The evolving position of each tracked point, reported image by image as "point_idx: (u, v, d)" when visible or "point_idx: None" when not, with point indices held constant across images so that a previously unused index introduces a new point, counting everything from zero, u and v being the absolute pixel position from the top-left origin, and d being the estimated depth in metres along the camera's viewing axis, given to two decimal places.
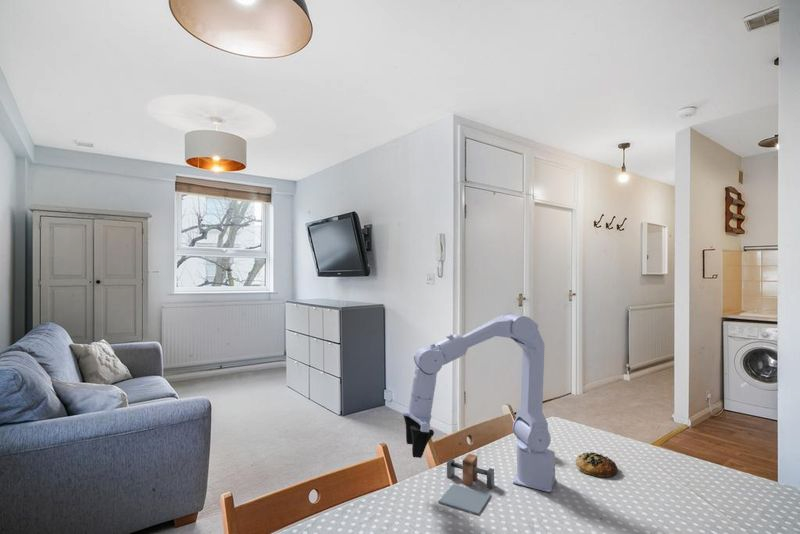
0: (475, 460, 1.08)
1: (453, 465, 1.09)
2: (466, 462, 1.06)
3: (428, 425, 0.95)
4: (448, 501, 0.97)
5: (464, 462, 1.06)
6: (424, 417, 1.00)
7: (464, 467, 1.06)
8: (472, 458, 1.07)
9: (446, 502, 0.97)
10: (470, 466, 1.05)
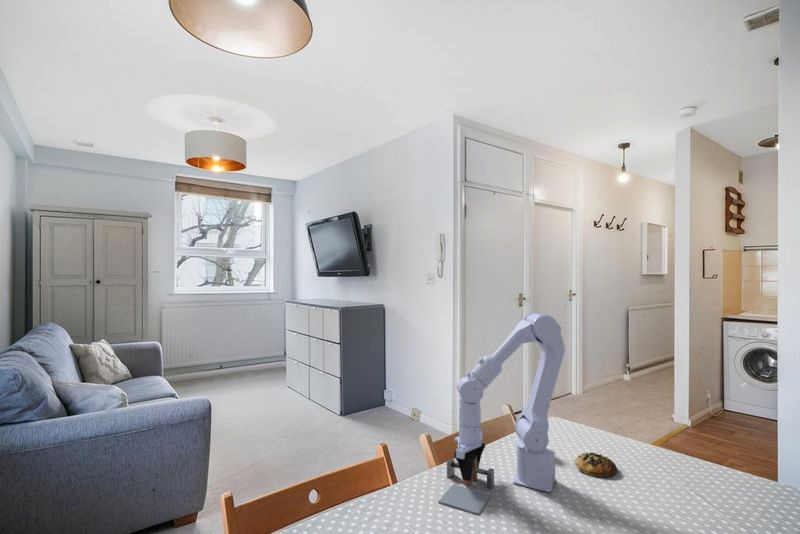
0: (475, 460, 1.08)
1: (453, 465, 1.09)
2: None
3: (461, 452, 1.01)
4: (448, 501, 0.97)
5: None
6: (468, 444, 1.05)
7: None
8: None
9: (446, 502, 0.97)
10: None
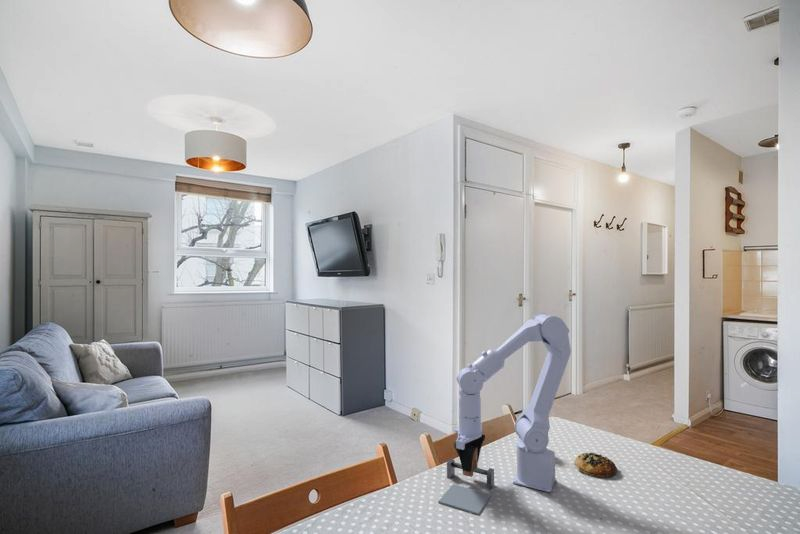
0: (475, 451, 1.08)
1: (453, 465, 1.09)
2: None
3: (461, 443, 1.01)
4: (448, 501, 0.97)
5: None
6: (468, 435, 1.05)
7: None
8: None
9: (446, 502, 0.97)
10: None
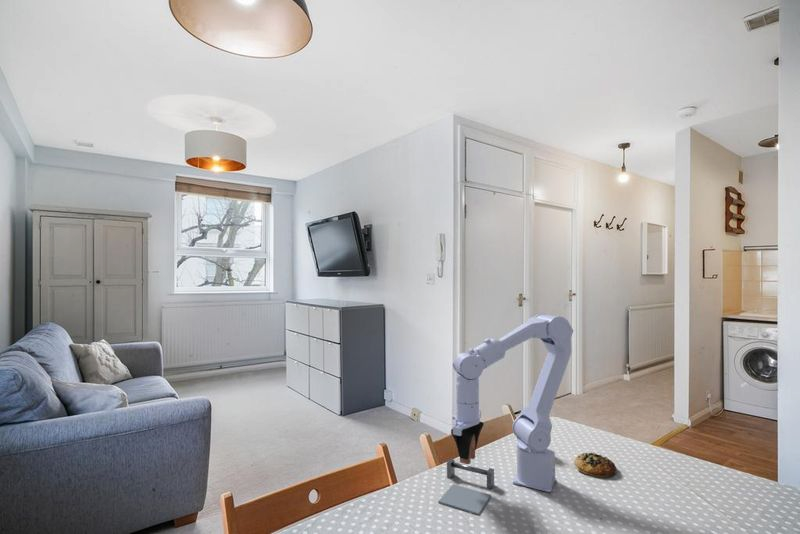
0: (473, 438, 1.04)
1: (453, 465, 1.09)
2: None
3: (458, 429, 0.98)
4: (448, 501, 0.97)
5: None
6: (465, 422, 1.02)
7: None
8: None
9: (446, 502, 0.97)
10: None
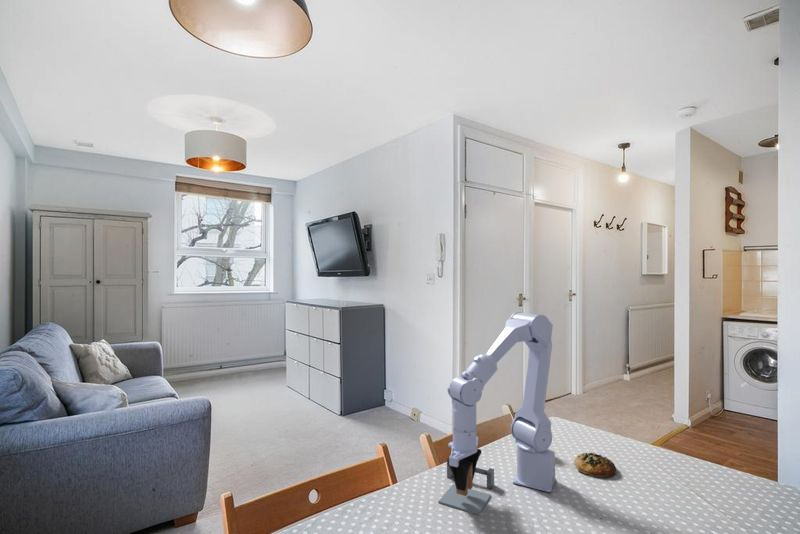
0: (470, 467, 0.99)
1: None
2: None
3: (455, 459, 0.92)
4: (448, 501, 0.97)
5: None
6: (462, 451, 0.96)
7: None
8: None
9: (446, 502, 0.97)
10: None
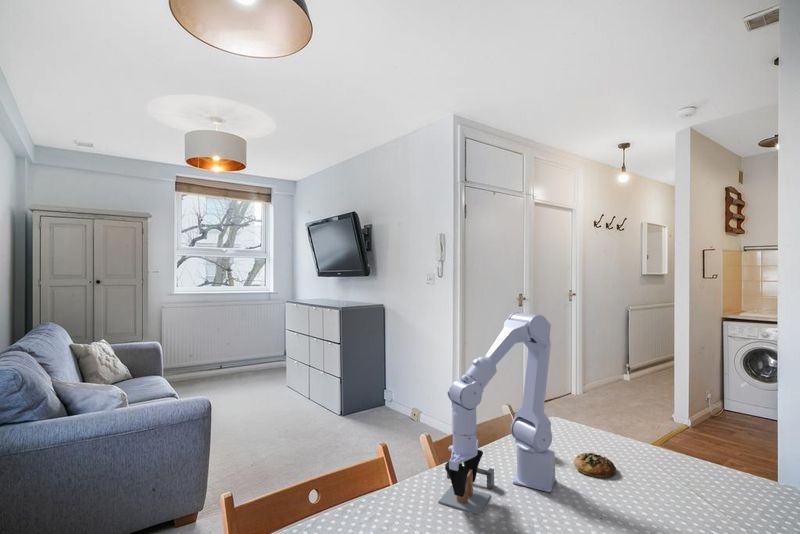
0: (470, 475, 0.99)
1: None
2: None
3: (455, 463, 0.92)
4: (448, 501, 0.97)
5: None
6: (462, 454, 0.96)
7: None
8: None
9: (446, 502, 0.97)
10: None
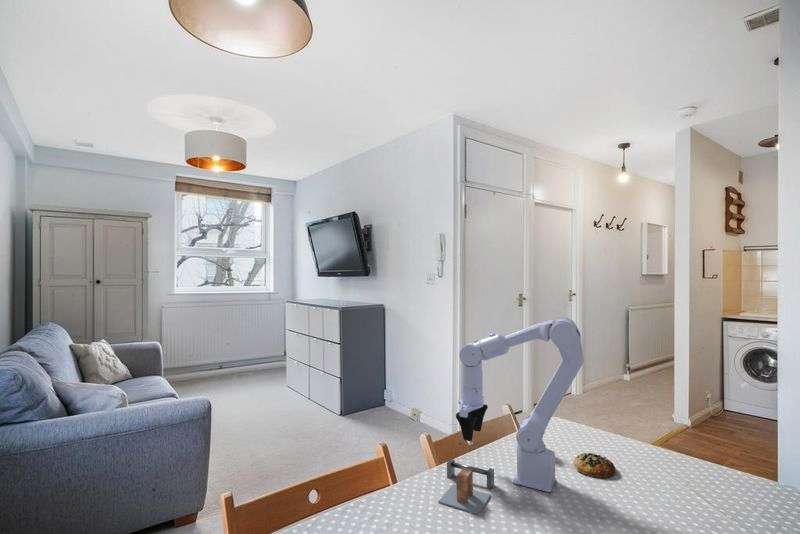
0: (470, 475, 0.99)
1: (453, 465, 1.09)
2: (460, 477, 0.97)
3: (465, 411, 1.08)
4: (448, 501, 0.97)
5: (458, 477, 0.97)
6: (471, 405, 1.11)
7: (458, 483, 0.97)
8: (467, 473, 0.99)
9: (446, 502, 0.97)
10: (465, 482, 0.96)
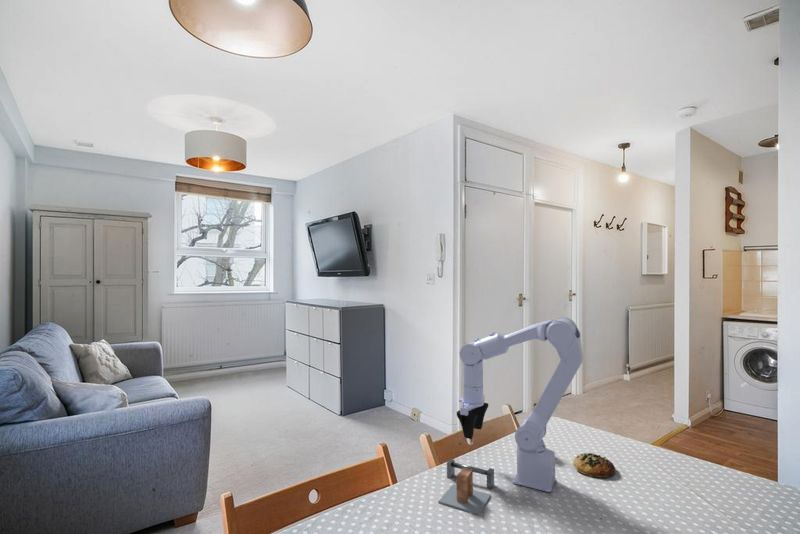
0: (470, 475, 0.99)
1: (453, 465, 1.09)
2: (460, 477, 0.97)
3: (465, 409, 1.09)
4: (448, 501, 0.97)
5: (458, 477, 0.97)
6: (471, 403, 1.13)
7: (458, 483, 0.97)
8: (467, 473, 0.99)
9: (446, 502, 0.97)
10: (465, 482, 0.96)
